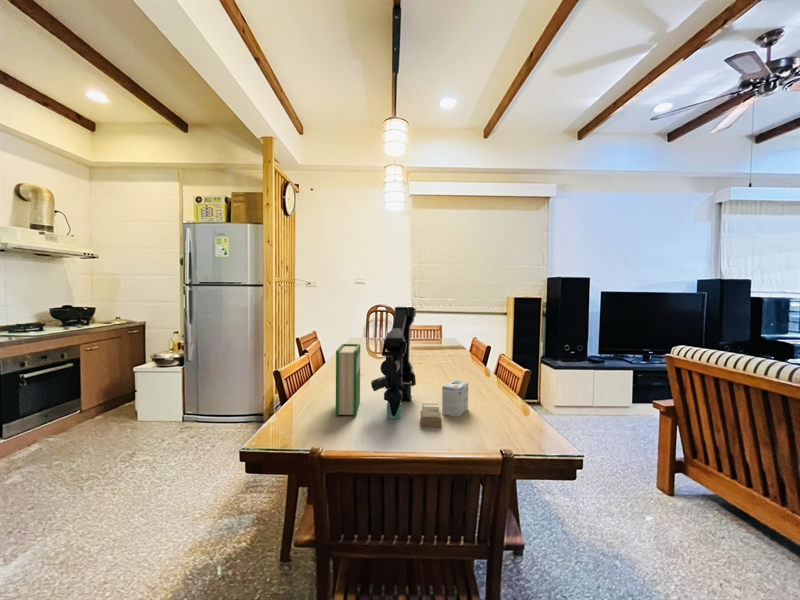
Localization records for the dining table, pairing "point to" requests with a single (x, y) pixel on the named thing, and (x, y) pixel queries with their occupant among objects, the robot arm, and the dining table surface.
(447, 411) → the light bulb box
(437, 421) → the walnut slab
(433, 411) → the maple block
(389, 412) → the teal cube
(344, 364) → the hardback book
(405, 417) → the dining table surface
